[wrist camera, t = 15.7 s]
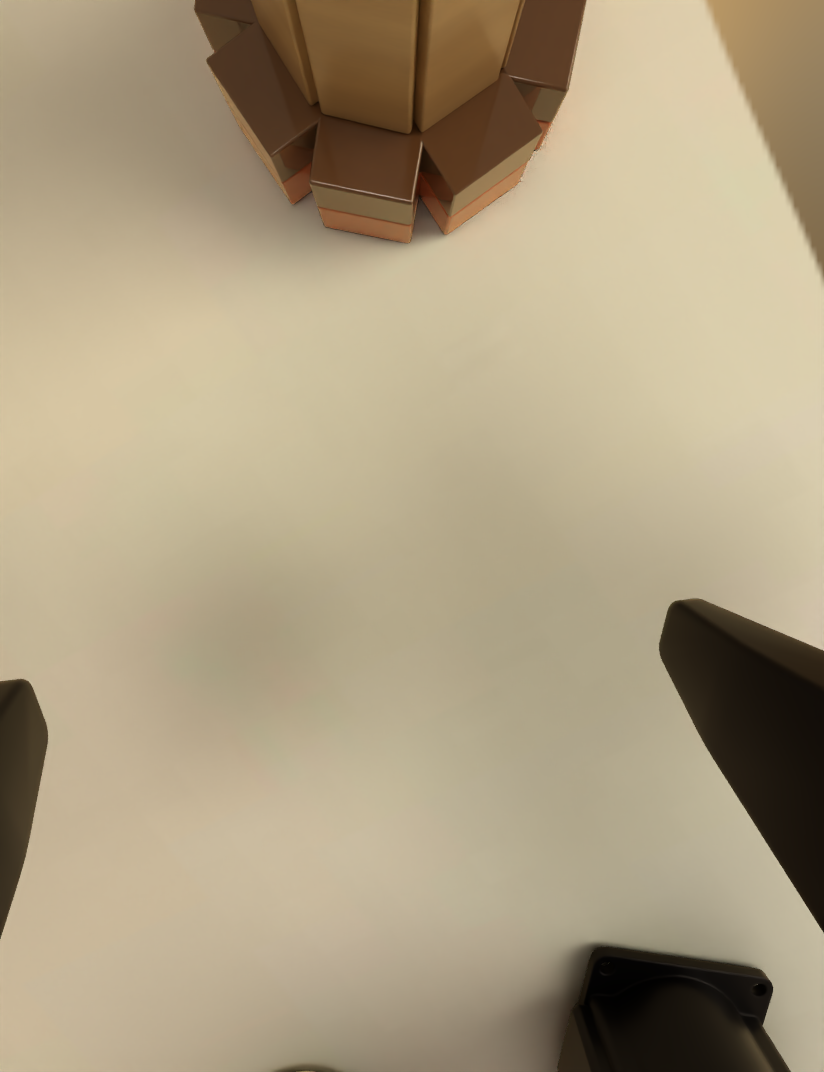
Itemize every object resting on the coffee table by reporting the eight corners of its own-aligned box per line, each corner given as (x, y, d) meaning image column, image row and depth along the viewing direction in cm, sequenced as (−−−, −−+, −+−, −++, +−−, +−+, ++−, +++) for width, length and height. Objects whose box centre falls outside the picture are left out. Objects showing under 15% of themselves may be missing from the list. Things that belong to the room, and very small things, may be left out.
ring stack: (582, -72, 17) (624, -186, 14) (516, 265, 19) (540, 231, 16) (258, -147, 17) (226, -281, 14) (213, 205, 18) (175, 156, 15)
